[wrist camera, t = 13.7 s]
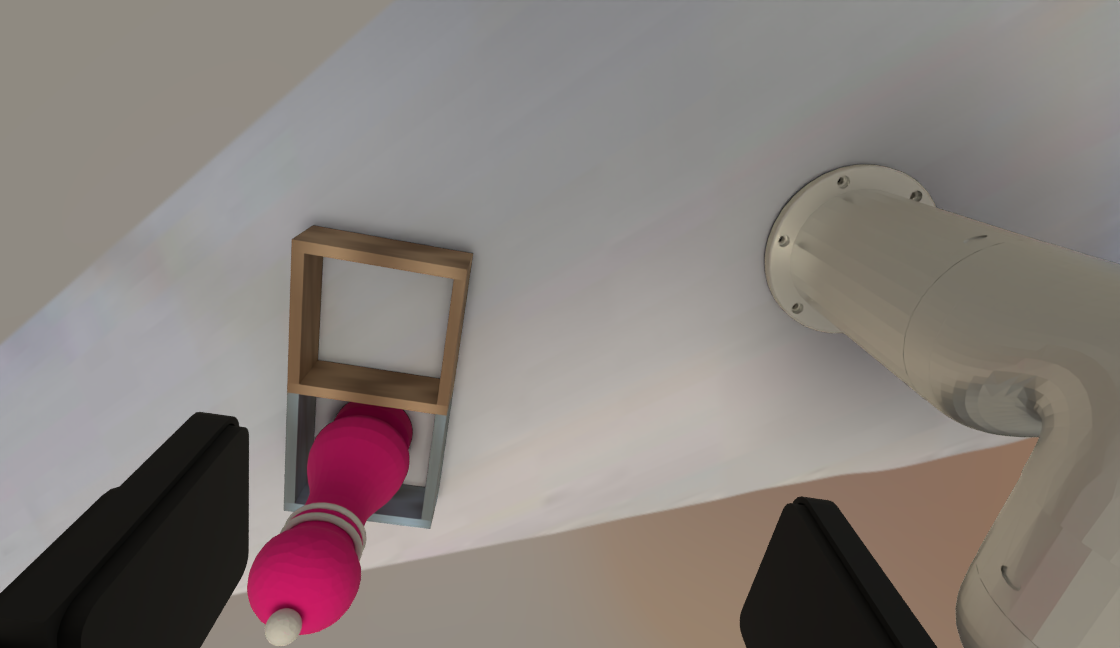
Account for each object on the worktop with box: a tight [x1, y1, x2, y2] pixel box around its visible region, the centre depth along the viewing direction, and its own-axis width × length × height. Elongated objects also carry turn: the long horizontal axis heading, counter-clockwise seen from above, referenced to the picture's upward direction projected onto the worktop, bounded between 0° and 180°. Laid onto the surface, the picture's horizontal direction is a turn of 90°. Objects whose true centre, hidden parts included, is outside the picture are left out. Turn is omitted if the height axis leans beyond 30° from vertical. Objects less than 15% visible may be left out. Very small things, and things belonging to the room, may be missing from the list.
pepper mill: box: [247, 402, 412, 646], centre depth 40 cm, size 7×7×20 cm
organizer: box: [284, 225, 473, 529], centre depth 45 cm, size 11×22×4 cm, turn 169°
